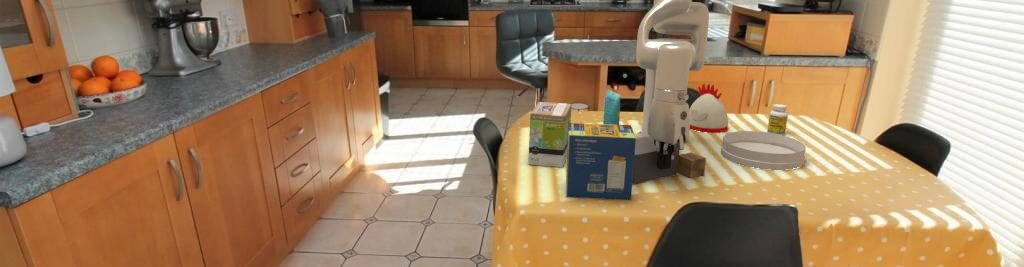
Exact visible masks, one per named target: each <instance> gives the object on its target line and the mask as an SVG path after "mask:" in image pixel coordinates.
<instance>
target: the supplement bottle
mask: <svg viewBox="0 0 1024 267" xmlns="http://www.w3.org/2000/svg"><path fill="white" fill-rule="evenodd" d="M788 117H789V114H788V112H787V105H785V104H777V103H776V104H772V110H771V111H770V112H769V117H768V122H767V124H768V125H767V131H766V133H773V134H778V135H783V136H786V130H787V123H788Z"/></svg>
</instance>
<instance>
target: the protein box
mask: <svg viewBox="0 0 1024 267" xmlns="http://www.w3.org/2000/svg"><path fill="white" fill-rule="evenodd" d="M632 127H633V126H632V125H631V124H619V125H610V124H603V123H602V124H601V123H576V122H571V123H569V129H568V146H567V157H566V169H565V170H566V172H565V177H566V178H565V194H566V195H565V197H566V198H577V199H578V198H579V199H580V198H581V199H594V200H595V199H597V200H612V201H613V200H615V201H631V200H632V194H633V193H632V192H633V191H632V190H633V184H632V181H633V168H634V156H635V143H636V138H637V137H636V136H635V133H634V131H633V128H632Z"/></svg>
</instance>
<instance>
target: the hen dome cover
mask: <svg viewBox="0 0 1024 267" xmlns="http://www.w3.org/2000/svg"><path fill="white" fill-rule="evenodd" d="M710 85H711V84H710V83H709V84H707V86H706V85H705V83H703V84H702V87H701V86H697V87H698V88H697V89H698V92H699V95H700V96H699V97H698V98H697V99H695V100H694V102H693V103H691V106H690V107H689V113H690V129H693V130H696V131H695V132H697V131H700V132H699V133H704V132H707V133H706V134H720V133H721V132H722V133H725V131H726V132H727V131H728V128H729V118H728V114H727V110H726V107H725V105H724V103H723V101H722V99H720V98H721V96H722V92H719V93H718V91H719V88H716V89H715V85H714V84H712V85H711V86H710ZM717 93H718V95H717ZM693 130H692V131H693Z"/></svg>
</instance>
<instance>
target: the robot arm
mask: <svg viewBox="0 0 1024 267" xmlns="http://www.w3.org/2000/svg"><path fill="white" fill-rule="evenodd" d="M709 21H710V11H709V9H708V6H707V5H706V4H705V3H702V2H697V1H695V2H694V1H693V0H653V6H652V8H651V9H649V11H647V13H646V14H645V15H644V17H643V18H642V20H641V22H640V24H639V27H638V30H637V38H636V53H635V54H636V55H635V58H636V63H637V65H638V67H640V68H641V69H643V70H645V88H644V97H643V98H644V101H643V111H642V112H643V113H642V125H641V126H642V127H641V131H639V132H636V136H635V138H641V137H648V138H649V140H650V141H651V142H653V143H654V144H655V146H656V151H657V152H658V157H657V168H659V169H661V170H664V169H669V168H670V167H671V158H672V154H673V153H674V152H675V151H676V150H680V151H683V150H685V145H684V144H686V143H688V142H689V140H690V131H691V130H690V113H689V109H690V107H689V106H690V105H689V103H687V100H688V99H689V98H690V97H689V94H688V84H689V76H690V72H699V71H700V70H702V69H703V67H704V64H705V60H706V52H707V44H708V33H709V25H710V24H709V23H710V22H709ZM652 28H653V30H654V31H655V32H656V33H658V34H664V35H665V34H666V35H683V36H684V35H685V36H688V37H691V39H688V38H687V39H685V38H654V39H650V38H649V33H650V31H651V29H652Z"/></svg>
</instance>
